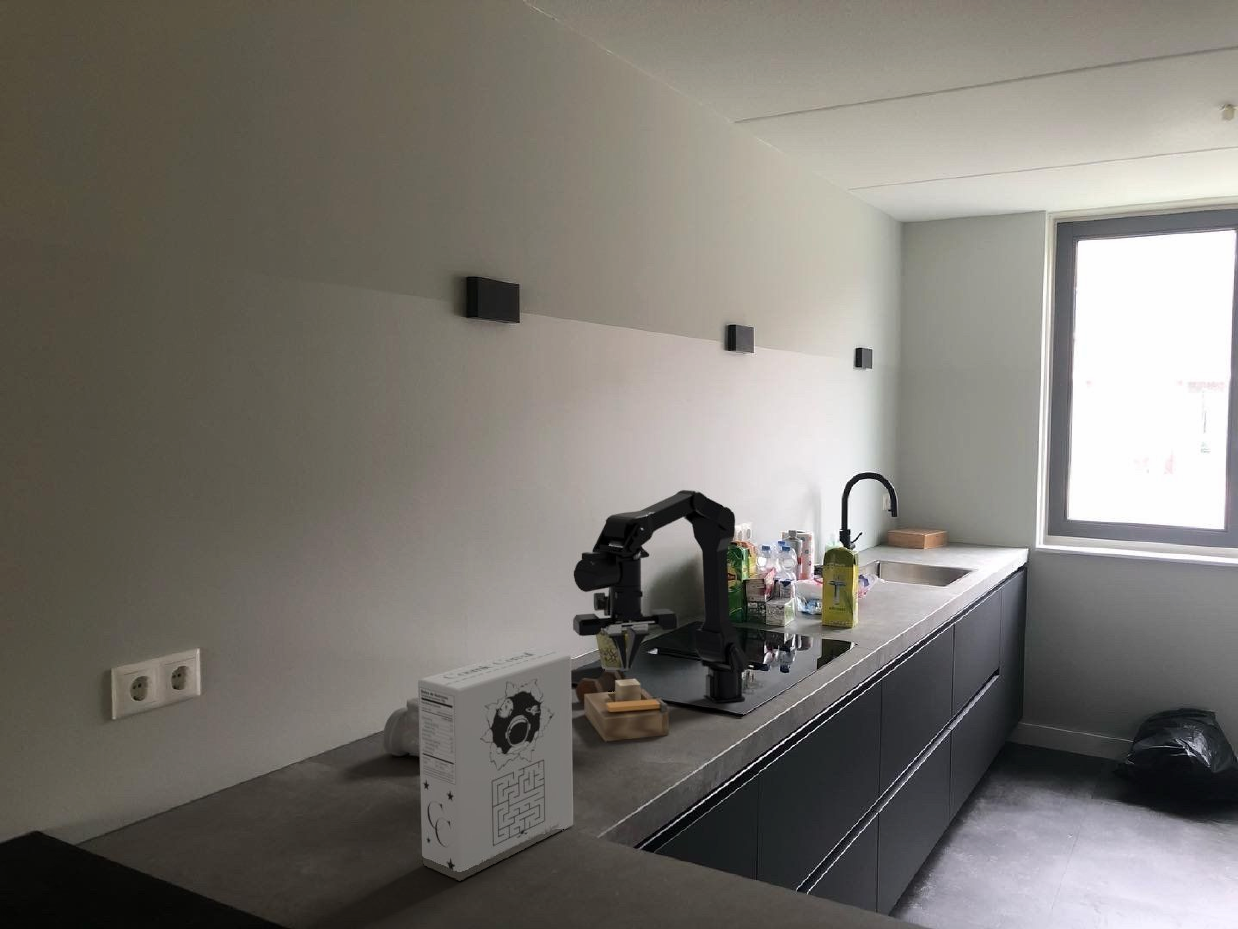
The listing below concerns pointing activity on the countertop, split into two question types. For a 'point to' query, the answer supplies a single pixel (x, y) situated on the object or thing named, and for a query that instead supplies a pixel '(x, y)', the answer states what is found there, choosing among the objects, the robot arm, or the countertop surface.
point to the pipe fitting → (403, 730)
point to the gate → (634, 705)
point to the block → (625, 718)
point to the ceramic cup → (610, 651)
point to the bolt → (599, 684)
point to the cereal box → (495, 755)
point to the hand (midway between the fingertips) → (626, 668)
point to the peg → (627, 690)
